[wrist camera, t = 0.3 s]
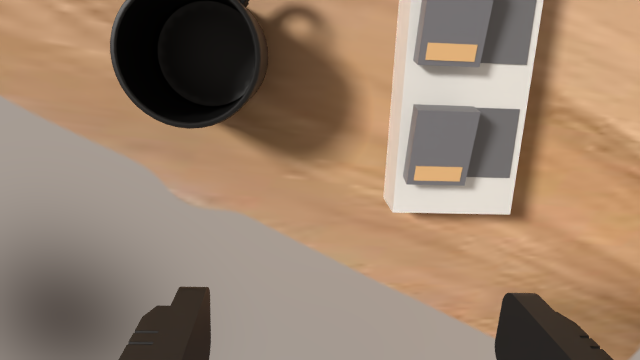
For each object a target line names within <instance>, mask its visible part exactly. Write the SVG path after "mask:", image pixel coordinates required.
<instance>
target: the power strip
mask: <svg viewBox="0 0 640 360" xmlns="http://www.w3.org/2000/svg"><path fill="white" fill-rule="evenodd" d="M421 2H422V0H399V7H398V20H397V32H396V45H395V58H394V70H393V83H392V96H391V108H390V121H389V133H388V146H387V159H386V171H385V184H384V197H383V198H384V200H385V201H386V203H387V204H388V206H389V207H390V209H391V210H392V212H398V213H453V214H508V215H510V212H511V205H512V199H513V193H514V186H515V180H516V173H517V167H518V161H519V154H520V148H521V141H522V135H523V129H524V122H525V116H526V109H527V103H528V96H529V90H530V84H531V77H532V71H533V64H534V58H535V52H536V45H537V39H538V32H539V26H540V19H541V13H542V7H543V0H493V5H492V10H491V15H490V19H489V24H488V29H487V34H486V38H485V43H484V48H483V53H482V58H481V62H480V67H457V66H432V65H417V64H416V63H415V62H414V61H413V58H414V51H415V44H416V37H417V30H418V23H419V16H420V9H421ZM414 104H421V105H450V106H474V107H475V108H476V109H477V110H479V111H480V112H481V113H480V118H479V122H478V127H477V131H476V136H475V140H474V145H473V149H472V154H471V158H470V163H469V168H468V172H467V177H466V181H465V186H454V185H409V184H406V182H405V180H404V178H403V172H404V165H405V158H406V152H407V145H408V138H409V131H410V125H411V118H412V111H413V105H414Z"/></svg>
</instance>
